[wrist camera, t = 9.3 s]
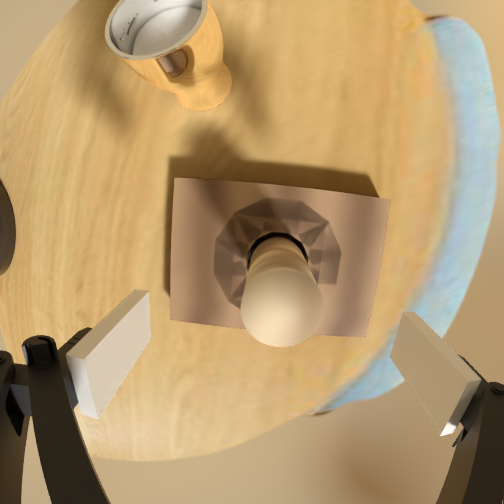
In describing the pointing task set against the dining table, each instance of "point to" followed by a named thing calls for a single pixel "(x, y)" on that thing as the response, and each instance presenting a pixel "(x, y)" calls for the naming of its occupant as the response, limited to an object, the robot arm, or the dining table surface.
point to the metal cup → (172, 48)
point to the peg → (280, 294)
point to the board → (261, 226)
